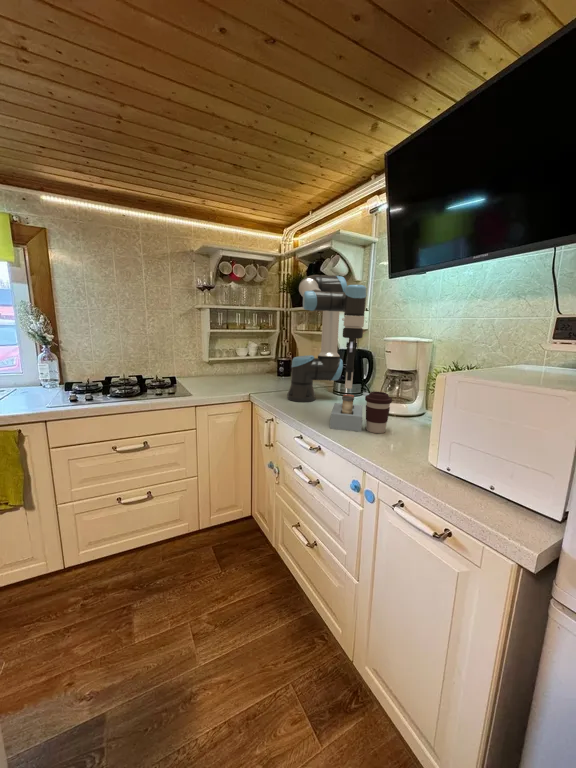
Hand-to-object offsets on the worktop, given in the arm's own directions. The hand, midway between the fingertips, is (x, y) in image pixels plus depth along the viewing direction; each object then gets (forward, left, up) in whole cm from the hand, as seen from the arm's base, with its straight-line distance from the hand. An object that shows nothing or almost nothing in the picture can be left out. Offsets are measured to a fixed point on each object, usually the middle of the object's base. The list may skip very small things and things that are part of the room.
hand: (348, 387), depth 126 cm
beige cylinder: (0, 0, -13) cm, 13 cm away
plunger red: (-9, 0, -14) cm, 16 cm away
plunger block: (-4, 0, -16) cm, 16 cm away
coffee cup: (+1, +12, -16) cm, 20 cm away
